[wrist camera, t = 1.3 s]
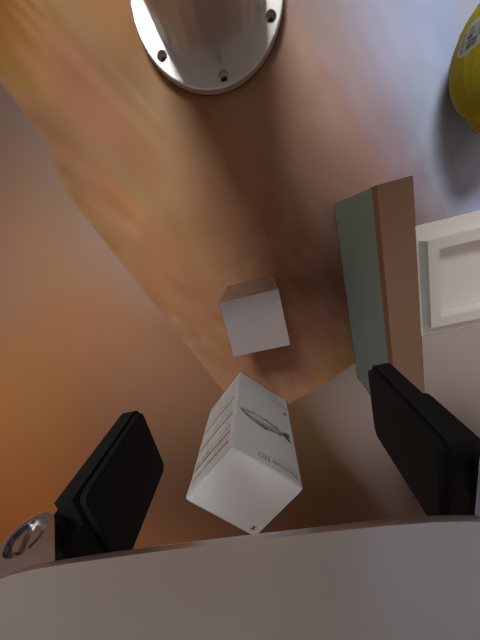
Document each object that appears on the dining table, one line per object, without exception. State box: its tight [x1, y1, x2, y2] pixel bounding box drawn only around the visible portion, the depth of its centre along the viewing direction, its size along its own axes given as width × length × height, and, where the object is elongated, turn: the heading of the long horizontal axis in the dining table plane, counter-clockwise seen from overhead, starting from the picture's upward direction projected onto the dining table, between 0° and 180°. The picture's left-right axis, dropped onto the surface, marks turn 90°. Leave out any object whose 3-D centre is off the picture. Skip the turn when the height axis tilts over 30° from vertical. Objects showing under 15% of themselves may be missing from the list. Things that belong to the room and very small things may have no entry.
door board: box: [334, 176, 424, 395], centre depth 24 cm, size 20×2×10 cm, turn 14°
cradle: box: [415, 210, 480, 336], centre depth 26 cm, size 12×12×2 cm
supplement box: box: [186, 372, 302, 535], centre depth 28 cm, size 7×7×13 cm
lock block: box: [219, 276, 290, 356], centre depth 26 cm, size 5×5×8 cm
